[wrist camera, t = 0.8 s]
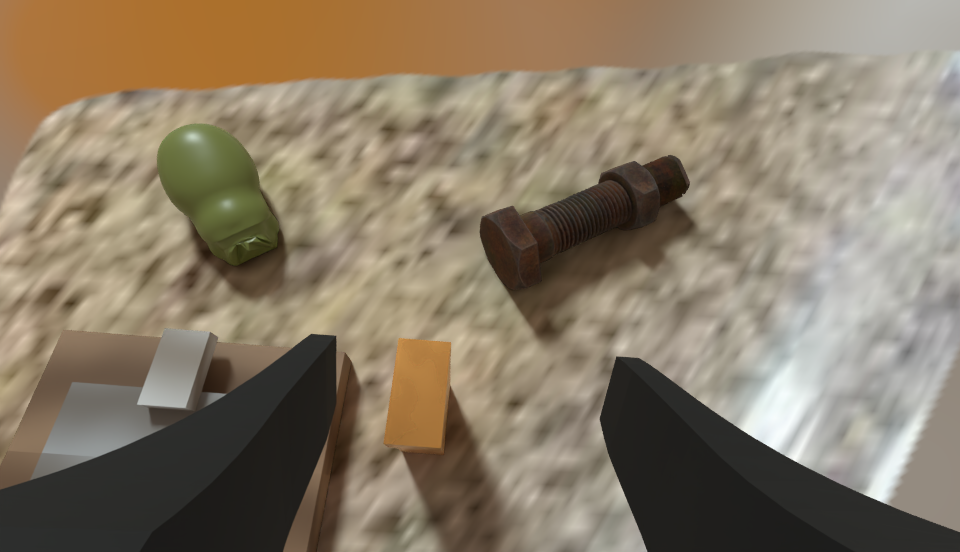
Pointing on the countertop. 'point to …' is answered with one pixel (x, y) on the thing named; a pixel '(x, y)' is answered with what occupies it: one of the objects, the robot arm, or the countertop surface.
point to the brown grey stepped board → (147, 404)
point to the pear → (217, 191)
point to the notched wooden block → (419, 397)
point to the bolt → (579, 218)
